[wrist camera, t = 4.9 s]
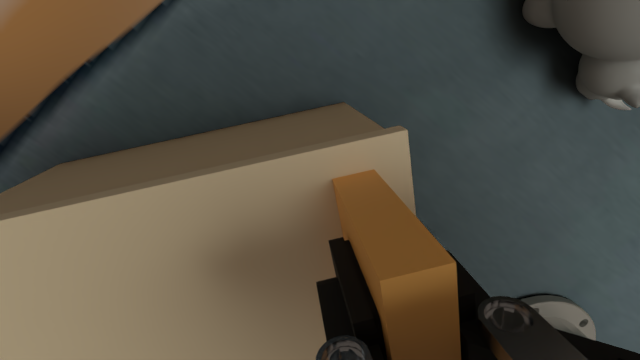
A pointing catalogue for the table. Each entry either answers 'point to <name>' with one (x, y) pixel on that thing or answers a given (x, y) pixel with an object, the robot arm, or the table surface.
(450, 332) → the flap
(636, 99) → the white animal toy
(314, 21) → the table surface
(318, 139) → the carton
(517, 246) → the table surface
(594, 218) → the table surface
